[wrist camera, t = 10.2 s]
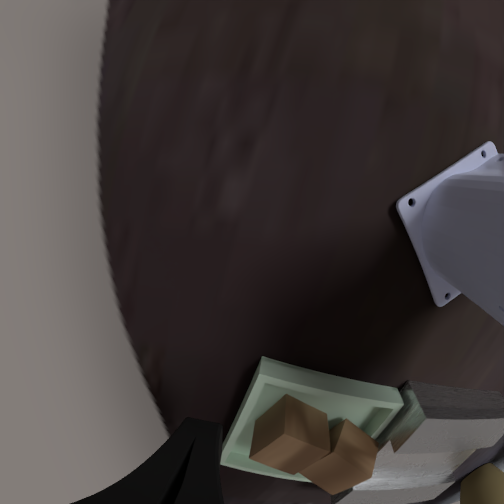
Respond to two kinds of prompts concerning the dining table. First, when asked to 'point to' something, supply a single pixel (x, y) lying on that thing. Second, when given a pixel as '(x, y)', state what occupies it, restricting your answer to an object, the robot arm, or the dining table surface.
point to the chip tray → (314, 394)
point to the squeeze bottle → (483, 486)
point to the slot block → (428, 443)
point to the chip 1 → (290, 436)
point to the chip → (344, 459)
